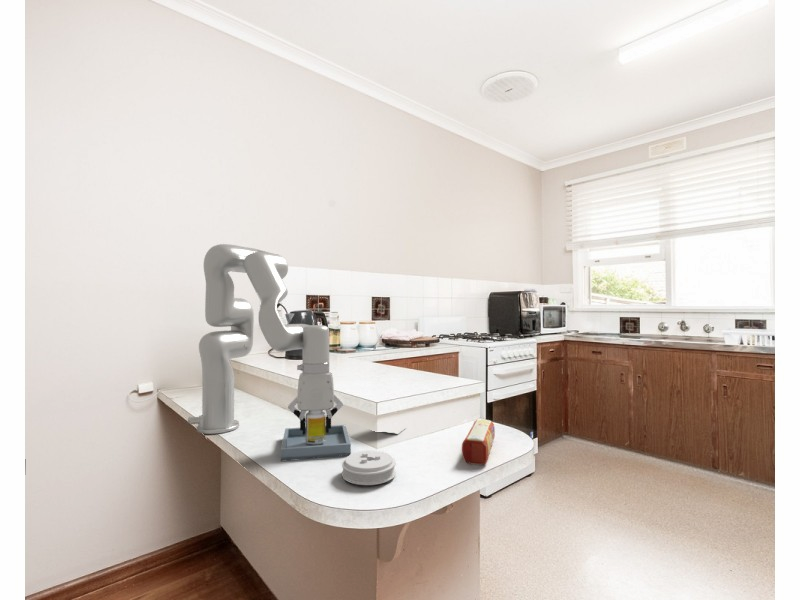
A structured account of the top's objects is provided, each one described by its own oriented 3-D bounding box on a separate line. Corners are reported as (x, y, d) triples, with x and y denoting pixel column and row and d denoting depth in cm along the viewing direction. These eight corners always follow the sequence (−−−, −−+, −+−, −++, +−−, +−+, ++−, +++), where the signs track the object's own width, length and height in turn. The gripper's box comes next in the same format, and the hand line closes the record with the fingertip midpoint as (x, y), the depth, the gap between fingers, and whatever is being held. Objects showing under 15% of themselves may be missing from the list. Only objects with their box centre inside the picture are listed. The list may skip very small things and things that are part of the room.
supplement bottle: (329, 442, 116) (329, 406, 116) (311, 446, 112) (311, 409, 112) (319, 437, 120) (319, 402, 120) (302, 441, 116) (302, 405, 116)
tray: (280, 461, 105) (280, 449, 105) (285, 438, 123) (285, 428, 123) (350, 455, 109) (350, 444, 109) (345, 434, 127) (345, 424, 127)
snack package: (473, 438, 124) (473, 415, 124) (496, 440, 122) (496, 417, 122) (461, 464, 104) (461, 437, 104) (487, 467, 101) (487, 440, 101)
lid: (406, 480, 94) (406, 458, 94) (357, 494, 87) (357, 471, 87) (378, 462, 105) (378, 443, 105) (333, 473, 98) (333, 453, 98)
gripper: (283, 371, 111) (283, 438, 110) (347, 369, 114) (347, 434, 114) (285, 367, 118) (285, 430, 118) (345, 365, 122) (345, 426, 121)
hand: (315, 431), depth 116 cm, fingers open, 5 cm apart
